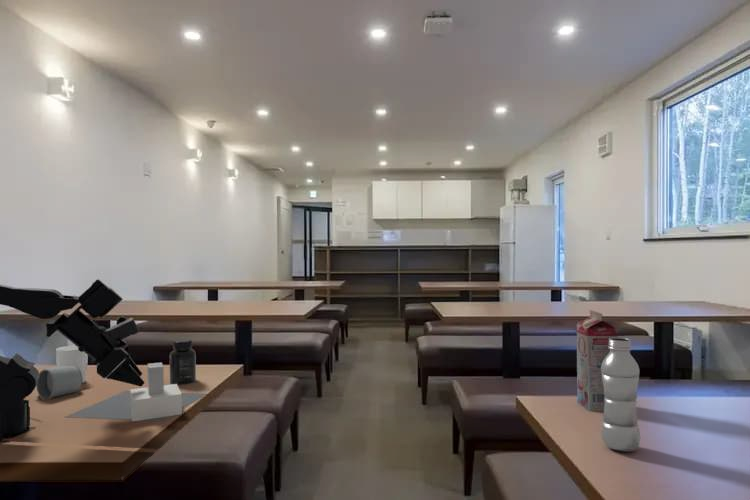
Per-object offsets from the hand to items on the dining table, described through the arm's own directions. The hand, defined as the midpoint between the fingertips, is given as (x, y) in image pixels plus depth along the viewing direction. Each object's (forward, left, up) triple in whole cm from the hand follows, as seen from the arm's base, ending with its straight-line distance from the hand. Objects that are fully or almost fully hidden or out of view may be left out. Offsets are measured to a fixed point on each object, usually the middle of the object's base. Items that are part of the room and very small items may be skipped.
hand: (141, 379), depth 113 cm
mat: (+6, +4, -8) cm, 11 cm away
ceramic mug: (+13, +33, -8) cm, 36 cm away
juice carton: (+20, -102, -8) cm, 104 cm away
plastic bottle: (-6, -99, -8) cm, 100 cm away
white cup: (+25, +38, -8) cm, 46 cm away
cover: (+2, -2, -8) cm, 8 cm away
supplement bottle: (+28, +6, -8) cm, 29 cm away
